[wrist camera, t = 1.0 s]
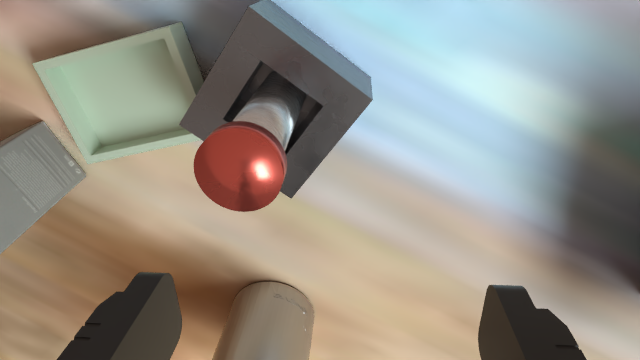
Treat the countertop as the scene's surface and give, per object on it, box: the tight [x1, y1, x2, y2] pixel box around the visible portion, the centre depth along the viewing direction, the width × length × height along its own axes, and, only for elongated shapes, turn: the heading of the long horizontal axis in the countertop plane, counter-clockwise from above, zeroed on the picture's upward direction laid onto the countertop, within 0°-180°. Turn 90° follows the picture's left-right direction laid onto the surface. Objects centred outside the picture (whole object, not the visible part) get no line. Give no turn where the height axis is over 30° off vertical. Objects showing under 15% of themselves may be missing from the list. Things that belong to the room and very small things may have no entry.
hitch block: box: [179, 0, 373, 198], centre depth 32 cm, size 10×10×6 cm
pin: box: [194, 71, 306, 212], centre depth 28 cm, size 5×5×14 cm
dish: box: [33, 22, 204, 164], centre depth 35 cm, size 12×9×2 cm
